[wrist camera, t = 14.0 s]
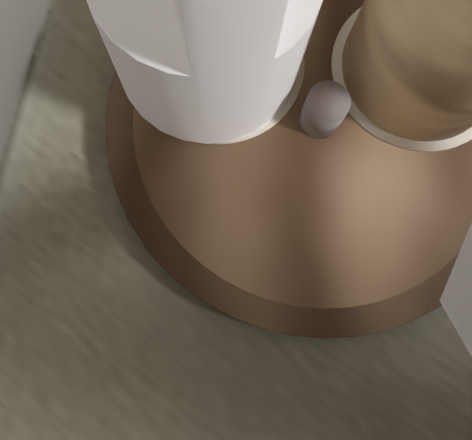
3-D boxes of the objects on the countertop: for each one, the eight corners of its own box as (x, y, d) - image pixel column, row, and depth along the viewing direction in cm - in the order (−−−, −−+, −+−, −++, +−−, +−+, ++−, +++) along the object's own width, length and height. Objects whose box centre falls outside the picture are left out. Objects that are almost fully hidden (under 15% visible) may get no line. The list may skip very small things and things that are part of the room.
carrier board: (487, -31, 25) (527, -81, 22) (531, 340, 20) (590, 346, 17) (127, -48, 24) (113, -103, 21) (94, 332, 20) (70, 337, 17)
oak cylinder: (486, 4, 23) (627, -157, 15) (503, 144, 21) (671, 47, 13) (339, -3, 22) (403, -170, 15) (344, 138, 21) (419, 36, 13)
